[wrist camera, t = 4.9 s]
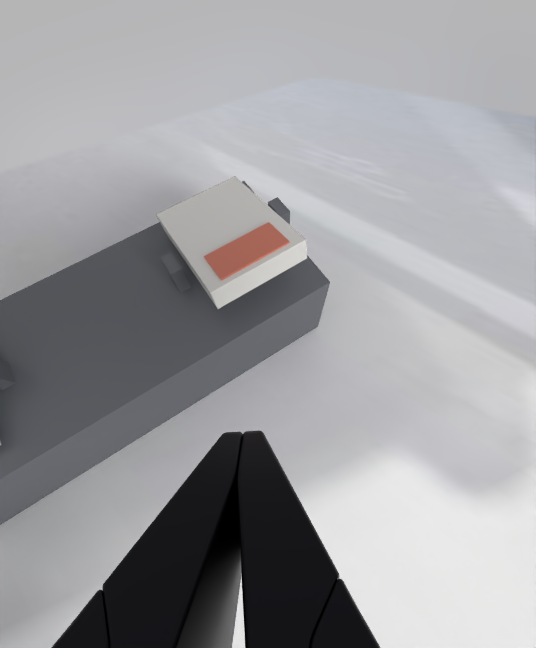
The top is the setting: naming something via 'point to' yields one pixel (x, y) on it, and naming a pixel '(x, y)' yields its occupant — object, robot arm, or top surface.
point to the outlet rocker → (232, 240)
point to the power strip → (126, 354)
